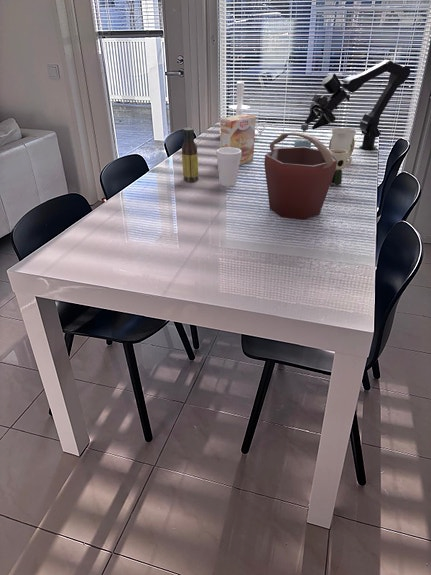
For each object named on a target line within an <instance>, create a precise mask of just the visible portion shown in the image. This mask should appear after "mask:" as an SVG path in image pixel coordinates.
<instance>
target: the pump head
mask: <svg viewBox="0 0 431 575" xmlns="http://www.w3.org/2000/svg"><path fill="white" fill-rule="evenodd" d="M309 124H310V123H309ZM309 124H304V123H301V126H300V130H301V131H302V133H306V132H307V131H308V130H309Z"/></svg>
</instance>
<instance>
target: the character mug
mask: <svg viewBox="0 0 431 575" xmlns="http://www.w3.org/2000/svg"><path fill="white" fill-rule="evenodd" d="M328 150H329V149H328ZM329 152H331V153H332V154H333V156H334V157H335V159H336V160H337V165H336V171H335V173H334V176H333V179H332V182H331V184H330V186H332V184H333V186H341V184H342V180H343V171H342V170H343V169H345V167H346V166H351V165H352V161H353V158H352V157H351V156H350V157H347V155H348V151H346V150H343V149H330V150H329ZM347 159H348V160H347ZM346 160H347V161H348V162H347V161H346Z"/></svg>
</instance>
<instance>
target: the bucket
mask: <svg viewBox="0 0 431 575" xmlns="http://www.w3.org/2000/svg"><path fill="white" fill-rule="evenodd" d="M289 136H293V137H294V136H295V137H296V136H297V137H299V138H302V139H307V140H309V141H310V142H311V144H313V146H314V147H316V148H314V147H311V148H308V147H294V146H293V147H291V146H289V147H288V146H287V147H286V146H285V147H276V144H279V143H281V142H282V141H284V140H285V139H286V138H287V137H289ZM269 149H270V151H269V152H267V153H266V154H265V155H264V162H263V163H264V164H263V166H264V172H265V174H264V175H265V180H266V188H267V189H266V190H267V196H268V204H269V210H270V211H272V212H273V213H274V214H276V215H277V216H278V217H280V218H283V219H290V220H291V219H293V220H302V221H305V220H307V219H311V218H314V217H318V216H320V214H321V211H322V208H323V206H324V203H325V201H326V197H327V195H328V192H329V189H330V187H331V185H330V184H331V182H332V179H333V176H334V173H335V171H336V165H337V160H336V159H335V157H334V156H333V154H332V153H331V152H329V148H327V146H325V144H324V143H322V141H321V140H320V139H318V138H317V137H315V136H313V135H311V134H307V133H306V132H286V133H282V134H280V135H279V136H278V137H277V138H275V139H274V140H273V141H272V142H270V144H269Z"/></svg>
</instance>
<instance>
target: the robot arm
mask: <svg viewBox="0 0 431 575" xmlns="http://www.w3.org/2000/svg"><path fill="white" fill-rule="evenodd" d="M386 72H387V73H389V76H388V81H387V82H388V83H387V84H386V86H385V88H384V89H383V91H382V92H381V94H380V96H379V98H378V100H377V101H376V103H375V104H374V106H373V108H372V110H371V111H370V112H369V113H368V114H367V113H364V114H363V116H362V118H361V120H360V121H359V122H360V123H359V129H360V130H361V134H362V135H363V139H362V143H361V145H360V146H358V148H359V149H364V150H368V151H372V150H374V149H377V146H375V142H376V138H380V135H381V131H380V130H379V129H378V127H379V125H380V120H381V119H380V118H381V116H382V114H383V112H384V111H385V109H386V108H387V106H388V104H389V102H390V100H391V99H392V97H393V96H394V94H395V93H396V91H397V89H398V88H399V87H400V86H401V85H403V84H405V82H406V81H407V79H408V78H409V76H410V74H411V68H410V66H408V65H403V64H399V63H396V62H393V61H392V60H388V59H384V60H383V61H380V62H379V63H377V64H376V65H374V66H372V67H370V68H369V69H367V70H365V71H363V72H361V73H359V74H354V75H351V76H347V77H345V78H343V79H342V80H340V79H339V78H338V76H337V74H336V73H333V72H332V73H331V74H330V75H328V76H326V77H324V78H323V79H322V81H321V85H322V87H323V88H324V90H326V92H327V94H330V96H329V97H327V96H325V95H324V94H323V95H318V94H316V93H315V94H314V95H313V97H312V99H311V101H312V102H313V103H311V104H310V105H309V114H308V116H307V117H306V120H305V122H304V123H303V124H311V123H312V122H314V121H315V123H314V124H313V125H312V126H311V130H317V129H318V128H321V127H323V126H326V125H330V124H333V123H334V122H336V118H337V117H336V116H335V115H334V113H333V112H334V111H337V110H338V107H339V106H340V104H342V103H343V101H346V102H350V101H351V100H350V98H351V97H350V96H351V94H352V93H355V92H357V91H358V90H360V88H362V87H363V85H364V84H366V83H367V82H369V81H371V80H373V79H375V78H376V77H378V76H380V75H382V74H384V73H386ZM347 92H349V93H351V94H349V93H347ZM316 120H317V121H316Z"/></svg>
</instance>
